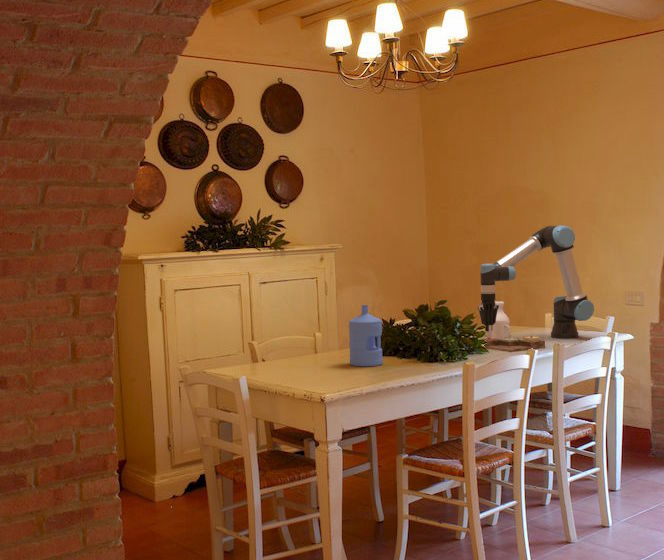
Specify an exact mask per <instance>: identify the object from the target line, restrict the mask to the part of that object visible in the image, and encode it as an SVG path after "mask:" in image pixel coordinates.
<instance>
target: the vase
mask: <svg viewBox="0 0 664 560" xmlns="http://www.w3.org/2000/svg"><path fill="white" fill-rule="evenodd" d="M495 304H496V305H498V306H499V308H498V310H497V317H496V321H506V325H508V326H509V327H510V325H511V324H510V323H511V322H510V321H511V320H510V317H508V316H507V314H506V313H505V312H504V305H505V302H504V301H500V300H499V301H496V300H495ZM508 333H509V330H508V328H506V335H508Z"/></svg>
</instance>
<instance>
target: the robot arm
mask: <svg viewBox="0 0 664 560" xmlns="http://www.w3.org/2000/svg"><path fill="white" fill-rule="evenodd" d="M575 240H576V234H575V232H574V230H573V229H572V228H571V227H570V226H567V225H563V224H561V225H547V226H545V227H542V228H540V229H539V230H537V231H536V232H535V233H533V234H531V235H530V236H529V237H528V240H526V241H525V242H523V243H522V244H519V246H517V247H516V248H514V249H513V250H511V251H510V252H508V253H507V254H505V255H504V256H503V257H501V258H499V259H498V260H496V261H495V262H493V263H482V264H480V268H479V269H480V271H479V274H480V293H481V294H480V300H481V303H480V305H479V306H478V307H477V309H478V311H479V317H480V320H481V321H480V322H481V324H482V325H483V326H484V330H485V338H492V325H494V324H495V323H496V317H497V310H498V308H499V306H498V305H496V304H495V301H496V282H504V281H505V282H506V281H507V282H510V281H513V280H515V279H516V277H517V271H516V269H515V266H516V265H517V264H520V263H521V262H522V261H524V260H525V259H526V258H528V257H530V256H532V255H533V254H534V253H535V252H541V251H542V250H543V249H546V248H550V249H551V252H552V254H554V255H555V257H556V260H557V263H558V266H559V267H558V268H559V272H560V274H561V279H562V282H563V286H564V289H565V293H566V295H563V296H561V295H560V296H555V297H554V298H553V303H552V304H553V325H552V328H551V331H550V337H552V338H556V339H574V338H579V331H578V328H577V325H576V321H578V322H583V321H588V320H590V319H591V318H592V316H593V315H594V313H595V312H594V311H595V306H594V305H595V304H594V303H593V301H591V300H589V299H588V296H587V295H588V294H587V293H585V292H584V291H583V288H582V284H581V281H580V276H579V272H578V270H577V265H576V261H575V258H574V254H573V249H574V243H575ZM485 326H486V328H485Z"/></svg>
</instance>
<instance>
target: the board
mask: <svg viewBox="0 0 664 560" xmlns="http://www.w3.org/2000/svg"><path fill="white" fill-rule="evenodd" d="M484 346H485V347H486V348H485V349H489V350H493V351H494V350H495V351H501V352H507V353H515V352H522V351H529V350H528V349H531V348H533V349H531V350H538V349H539V350H540V349H545V348H546V340H542V339H540V341H537V342H526V341H523V339H518V341H512V342H508V341H502V340H498V339H497V340H495V341H487V344H485V345H484Z"/></svg>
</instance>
